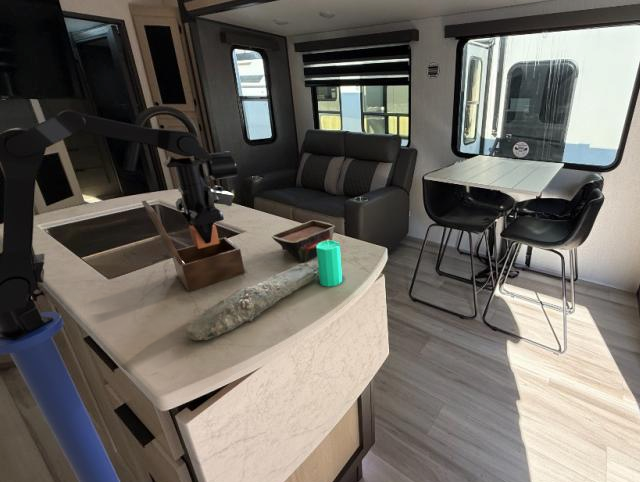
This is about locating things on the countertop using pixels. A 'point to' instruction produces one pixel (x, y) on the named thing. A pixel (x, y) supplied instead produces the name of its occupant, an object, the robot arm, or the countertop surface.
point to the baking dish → (304, 239)
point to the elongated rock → (250, 302)
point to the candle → (329, 263)
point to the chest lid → (162, 232)
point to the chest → (208, 264)
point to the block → (199, 241)
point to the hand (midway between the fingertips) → (205, 239)
